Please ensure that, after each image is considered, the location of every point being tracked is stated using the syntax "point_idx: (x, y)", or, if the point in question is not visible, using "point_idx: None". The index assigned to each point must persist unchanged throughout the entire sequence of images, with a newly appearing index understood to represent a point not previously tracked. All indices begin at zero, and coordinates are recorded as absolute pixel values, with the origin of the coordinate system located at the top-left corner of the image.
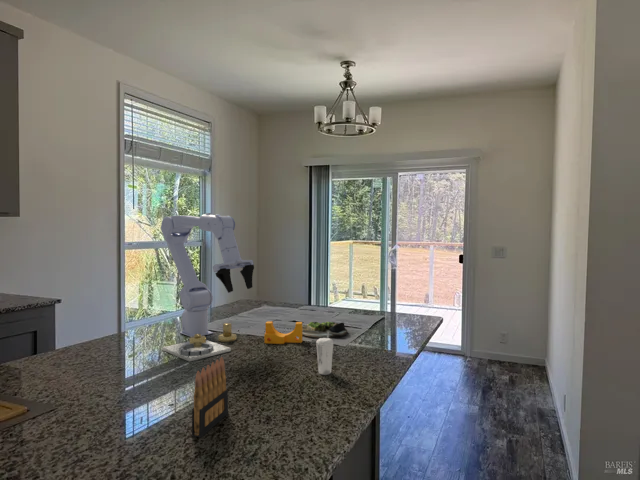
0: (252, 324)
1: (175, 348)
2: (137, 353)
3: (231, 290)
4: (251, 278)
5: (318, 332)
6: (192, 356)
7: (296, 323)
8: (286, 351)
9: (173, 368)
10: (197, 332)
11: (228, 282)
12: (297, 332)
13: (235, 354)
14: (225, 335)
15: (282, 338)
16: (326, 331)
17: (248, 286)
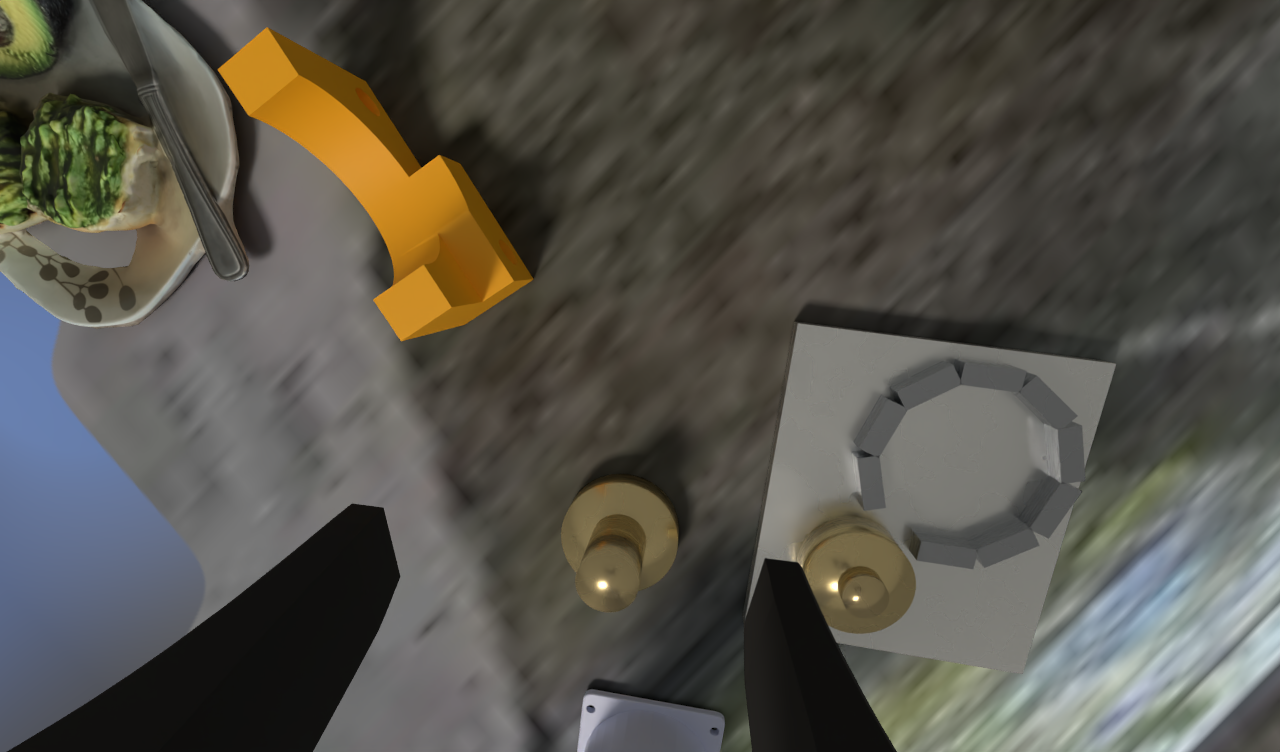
0: None
1: (1001, 593)
2: (1129, 725)
3: (801, 569)
4: (226, 622)
5: (156, 79)
6: (1076, 376)
7: (287, 74)
8: (580, 11)
9: (1251, 332)
10: (683, 738)
11: (875, 722)
12: (338, 83)
13: (827, 244)
14: (643, 535)
15: (450, 165)
16: (82, 78)
17: (377, 576)
